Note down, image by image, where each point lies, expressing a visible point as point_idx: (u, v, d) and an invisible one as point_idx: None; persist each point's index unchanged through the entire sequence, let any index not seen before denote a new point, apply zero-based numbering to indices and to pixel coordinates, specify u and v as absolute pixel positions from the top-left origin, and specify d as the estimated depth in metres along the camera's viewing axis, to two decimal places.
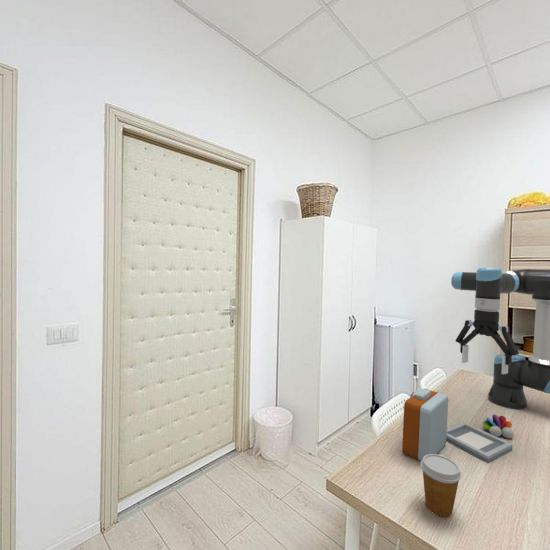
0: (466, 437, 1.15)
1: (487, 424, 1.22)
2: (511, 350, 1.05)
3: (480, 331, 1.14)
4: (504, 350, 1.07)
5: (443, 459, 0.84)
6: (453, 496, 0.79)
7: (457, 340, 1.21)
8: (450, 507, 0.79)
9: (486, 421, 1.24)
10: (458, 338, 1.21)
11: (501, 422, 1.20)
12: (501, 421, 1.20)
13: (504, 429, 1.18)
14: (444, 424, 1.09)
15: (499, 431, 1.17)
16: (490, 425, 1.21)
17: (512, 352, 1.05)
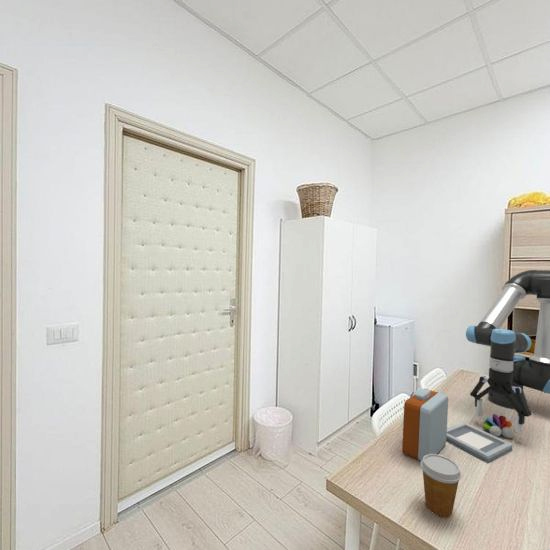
0: (466, 437, 1.15)
1: (487, 424, 1.22)
2: (524, 411, 1.12)
3: (494, 389, 1.21)
4: (517, 410, 1.14)
5: (443, 459, 0.84)
6: (453, 496, 0.79)
7: (472, 394, 1.28)
8: (450, 507, 0.79)
9: (486, 421, 1.24)
10: (473, 392, 1.28)
11: (501, 422, 1.20)
12: (501, 421, 1.20)
13: (504, 429, 1.18)
14: (444, 424, 1.09)
15: (499, 431, 1.17)
16: (490, 425, 1.22)
17: (525, 413, 1.12)
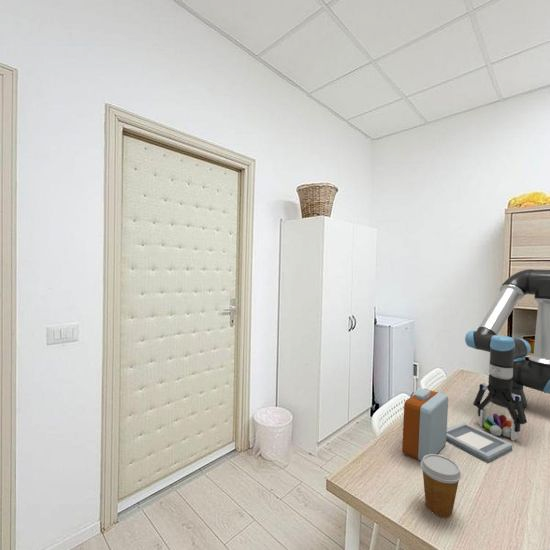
0: (466, 437, 1.15)
1: (488, 423, 1.22)
2: (520, 419, 1.13)
3: (494, 395, 1.21)
4: (514, 418, 1.15)
5: (443, 459, 0.84)
6: (453, 496, 0.79)
7: (475, 404, 1.27)
8: (450, 507, 0.79)
9: (487, 420, 1.24)
10: (475, 402, 1.27)
11: (502, 421, 1.20)
12: (502, 420, 1.20)
13: (504, 428, 1.18)
14: (444, 424, 1.09)
15: (499, 430, 1.17)
16: (491, 424, 1.22)
17: (521, 421, 1.13)
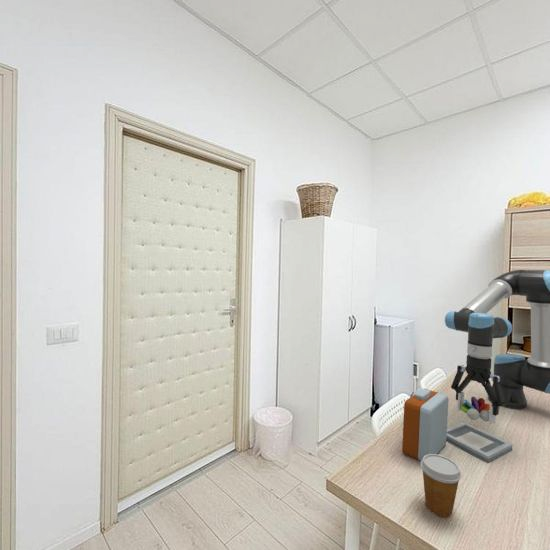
0: (466, 437, 1.15)
1: (465, 407, 1.14)
2: (499, 401, 1.05)
3: (472, 377, 1.13)
4: (492, 400, 1.07)
5: (443, 459, 0.84)
6: (453, 496, 0.79)
7: (452, 387, 1.19)
8: (450, 507, 0.79)
9: (464, 404, 1.16)
10: (453, 385, 1.19)
11: (480, 404, 1.12)
12: (480, 403, 1.12)
13: (482, 412, 1.10)
14: (444, 424, 1.09)
15: (477, 414, 1.09)
16: (468, 408, 1.13)
17: (499, 403, 1.05)
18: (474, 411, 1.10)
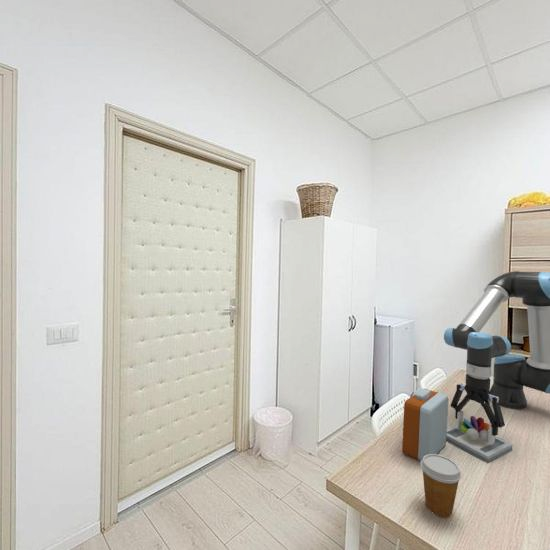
0: (466, 437, 1.15)
1: (464, 426, 1.14)
2: (498, 422, 1.06)
3: (471, 396, 1.13)
4: (491, 421, 1.07)
5: (443, 459, 0.84)
6: (453, 496, 0.79)
7: (452, 405, 1.19)
8: (450, 507, 0.79)
9: (464, 423, 1.16)
10: (452, 403, 1.19)
11: (479, 424, 1.12)
12: (479, 423, 1.12)
13: (482, 432, 1.10)
14: (444, 424, 1.09)
15: (476, 434, 1.10)
16: (467, 427, 1.14)
17: (498, 424, 1.05)
18: (473, 431, 1.10)
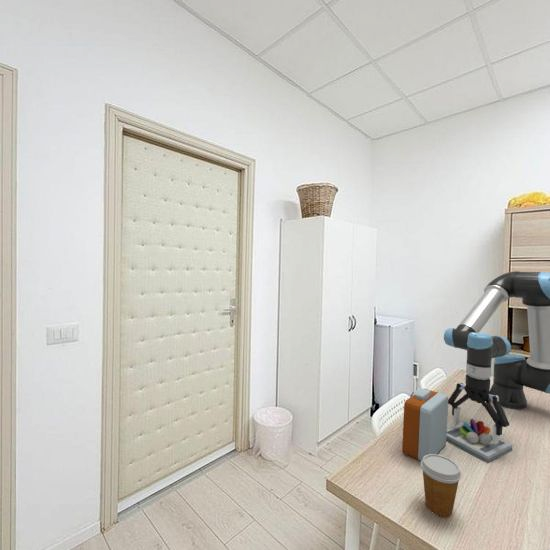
0: None
1: (464, 430, 1.14)
2: (502, 421, 1.05)
3: (471, 397, 1.13)
4: (495, 420, 1.06)
5: (443, 459, 0.84)
6: (453, 496, 0.79)
7: (449, 402, 1.21)
8: (450, 507, 0.79)
9: (463, 426, 1.16)
10: (450, 400, 1.20)
11: (479, 428, 1.12)
12: (479, 427, 1.12)
13: (481, 435, 1.10)
14: (444, 424, 1.09)
15: (476, 437, 1.10)
16: (467, 431, 1.14)
17: (503, 424, 1.04)
18: (473, 435, 1.10)
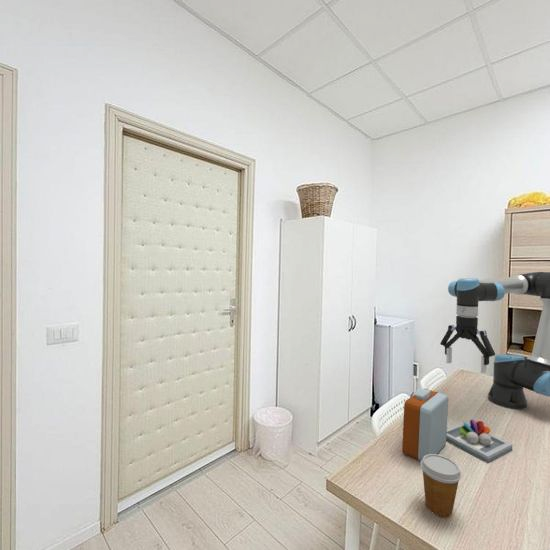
0: None
1: (464, 430, 1.14)
2: (488, 352, 1.19)
3: (461, 335, 1.27)
4: (482, 352, 1.21)
5: (443, 459, 0.84)
6: (453, 496, 0.79)
7: (442, 343, 1.34)
8: (450, 507, 0.79)
9: (463, 426, 1.16)
10: (442, 341, 1.34)
11: (479, 428, 1.12)
12: (479, 427, 1.12)
13: (481, 435, 1.10)
14: (444, 424, 1.09)
15: (476, 437, 1.10)
16: (467, 431, 1.14)
17: (489, 353, 1.18)
18: (473, 435, 1.10)
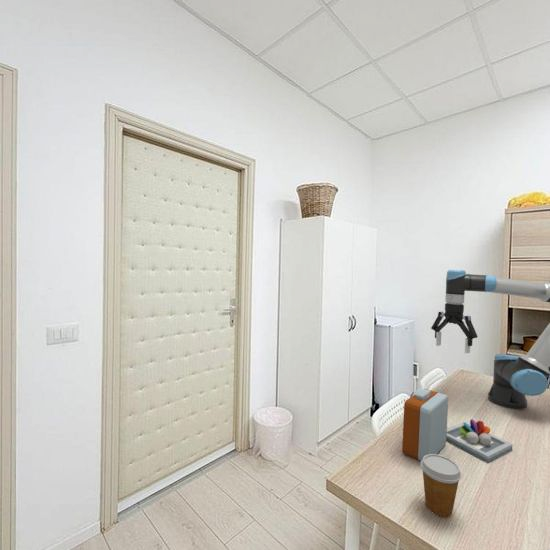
0: None
1: (464, 430, 1.14)
2: (471, 334, 1.35)
3: (449, 320, 1.43)
4: (466, 334, 1.36)
5: (443, 459, 0.84)
6: (453, 496, 0.79)
7: (432, 328, 1.51)
8: (450, 507, 0.79)
9: (463, 426, 1.16)
10: (433, 326, 1.50)
11: (479, 428, 1.12)
12: (479, 427, 1.12)
13: (481, 435, 1.10)
14: (444, 424, 1.09)
15: (476, 437, 1.10)
16: (467, 431, 1.14)
17: (472, 336, 1.34)
18: (473, 435, 1.10)
